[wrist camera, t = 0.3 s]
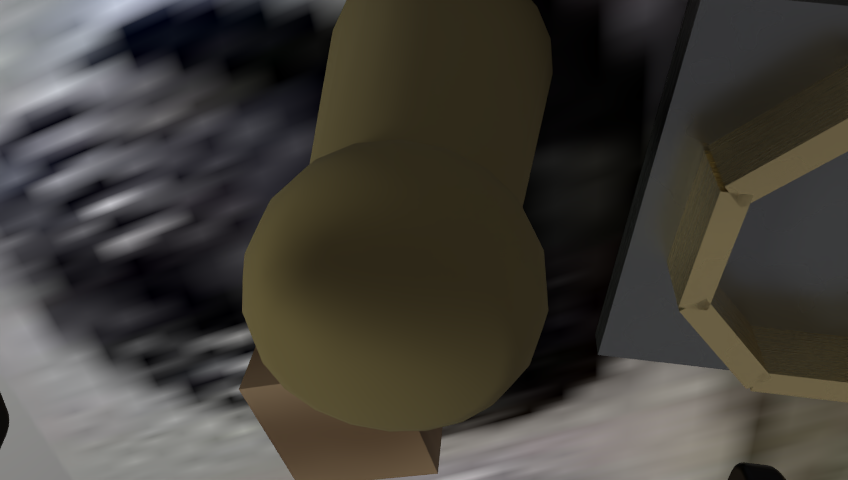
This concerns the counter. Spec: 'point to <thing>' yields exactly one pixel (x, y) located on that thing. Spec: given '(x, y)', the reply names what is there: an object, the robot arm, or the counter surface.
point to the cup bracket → (744, 204)
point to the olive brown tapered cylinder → (410, 219)
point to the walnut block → (333, 437)
